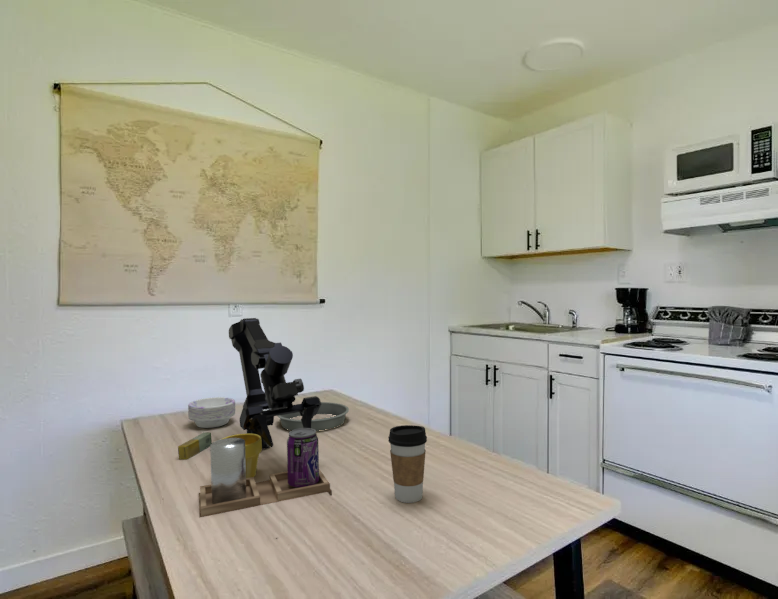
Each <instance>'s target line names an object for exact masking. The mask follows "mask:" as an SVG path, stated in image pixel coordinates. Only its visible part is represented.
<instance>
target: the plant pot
mask: <svg viewBox="0 0 778 599" xmlns="http://www.w3.org/2000/svg"><path fill="white" fill-rule="evenodd" d="M226 438H241V439H244V440H245V460H246V478H251V477H254V478H255V476H256V475H257V469H258V461H259V458H260V457H259V456H260V454H261V453H262V450H263V449H262V440H261V436H259V435H257V434H247V433H237V434H232V435H228V436H225V437H223V438H221V439H226Z"/></svg>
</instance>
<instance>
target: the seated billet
mask: <svg viewBox="0 0 778 599" xmlns="http://www.w3.org/2000/svg"><path fill="white" fill-rule="evenodd" d="M209 448H210V479H211V480H210V481H211V483H210V485H211V487H212V503H213V504H217V503H222V502H227V501H233V500H238V499H243V498H246V460H245V440H244V439H241V438H226V439H222V438H221V439H217V440H215V441H212V444H211V445H210V447H209Z"/></svg>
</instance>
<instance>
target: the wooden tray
mask: <svg viewBox="0 0 778 599" xmlns="http://www.w3.org/2000/svg"><path fill="white" fill-rule="evenodd" d="M268 476H269V479H268V480H261V481H257V482H256V480H255V476H254V477H251V478H246V498H243V499H238V500H233V501H227V502H222V503H217V504H213V503H212V487H211V484H206V485H201V486H199V488H200V489H199V492H198V506H199V508H198V512H199V516H198V517H199V518H205V517H209V516H214V515H219V514H223V513H229V512H235V511H239V510H243V509H249V508H254V507H259V506H263V505H269V504H274V503H279V502H283V501H284V502H285V501H289V500H293V499H297V498H298V499H299V498H303V497H309V496H313V495H318V494H323V493H324V494H325V493H327V494H328V495H329V496H332V495H333V491H332V488H331V483H330V482H329V480H328V479H327V477H326V476H325V475H324V474H323V472H322V471H321V469H320V468H319V481H318V482H317V483H316V484H314V485H311V486H305V487H300V488H295V487H293V486H290V485H289V484H288V471H287V470H285V471H280V472H273V473H269V475H268Z"/></svg>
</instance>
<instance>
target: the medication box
mask: <svg viewBox="0 0 778 599" xmlns="http://www.w3.org/2000/svg"><path fill="white" fill-rule="evenodd" d="M212 443H213V441H212V433H211V432H203V433H200V434H198V435H197V436H195V437H193V438H191V439H189V440H187V441H186V442H184V443H181V444H180V445H178V447H177V451H178V452H177V454H178V460H180V461H181V460H185V461H186V460H189V459H191V458H192V457H194V456H196V455H198V454H200V453H201V452H203V451H205V450H207V449H208V448H210V445H211V444H212Z"/></svg>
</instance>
